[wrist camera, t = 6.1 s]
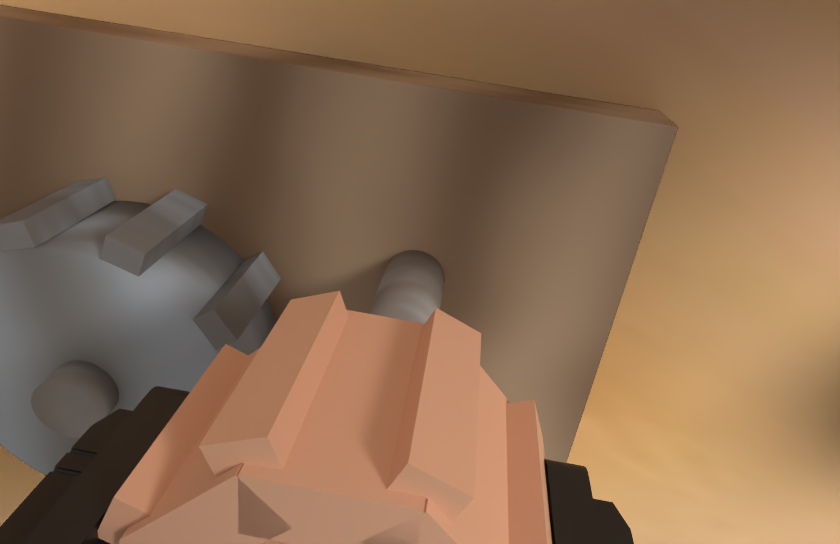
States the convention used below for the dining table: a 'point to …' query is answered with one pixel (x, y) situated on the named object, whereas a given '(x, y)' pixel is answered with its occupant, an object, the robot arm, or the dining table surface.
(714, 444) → the dining table surface
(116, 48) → the gear board
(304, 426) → the loose gear
